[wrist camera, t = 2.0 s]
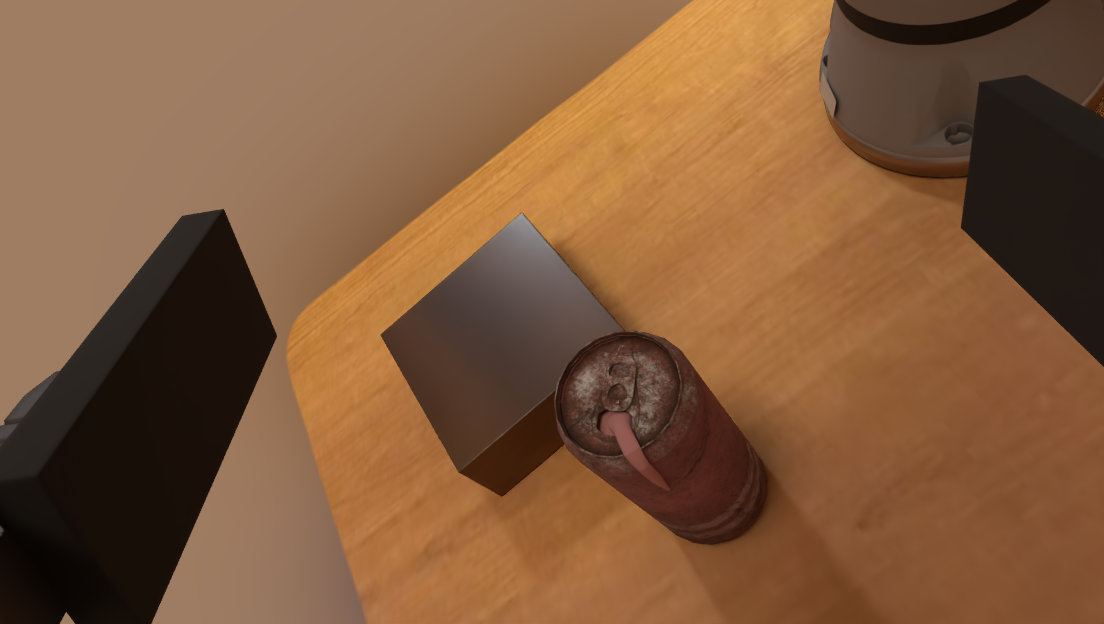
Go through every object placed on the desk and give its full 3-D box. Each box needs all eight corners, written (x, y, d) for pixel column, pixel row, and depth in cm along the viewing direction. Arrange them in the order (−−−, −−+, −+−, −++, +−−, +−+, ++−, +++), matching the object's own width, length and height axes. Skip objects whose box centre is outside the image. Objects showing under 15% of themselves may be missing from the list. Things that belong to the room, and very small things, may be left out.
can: (690, 572, 42) (582, 500, 31) (638, 470, 45) (525, 373, 34) (794, 513, 41) (721, 417, 30) (732, 413, 45) (646, 295, 34)
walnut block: (555, 251, 55) (521, 211, 51) (655, 367, 48) (625, 331, 44) (423, 365, 56) (379, 334, 52) (501, 497, 49) (458, 472, 45)
